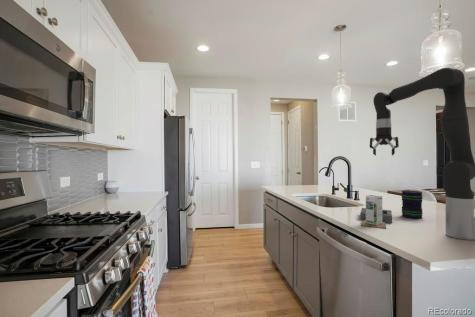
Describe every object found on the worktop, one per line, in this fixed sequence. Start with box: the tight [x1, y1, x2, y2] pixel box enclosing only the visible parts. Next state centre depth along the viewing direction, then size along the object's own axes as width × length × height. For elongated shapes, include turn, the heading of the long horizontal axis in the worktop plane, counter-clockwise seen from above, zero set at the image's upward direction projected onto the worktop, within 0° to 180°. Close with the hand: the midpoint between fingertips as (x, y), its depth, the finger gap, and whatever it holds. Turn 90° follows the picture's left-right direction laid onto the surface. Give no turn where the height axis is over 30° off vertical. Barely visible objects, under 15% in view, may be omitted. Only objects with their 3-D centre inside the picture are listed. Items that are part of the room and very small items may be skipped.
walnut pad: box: [360, 220, 387, 230], centre depth 125 cm, size 11×11×1 cm
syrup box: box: [365, 194, 383, 225], centre depth 125 cm, size 6×6×14 cm
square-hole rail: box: [359, 207, 393, 224], centre depth 137 cm, size 15×15×4 cm
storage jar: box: [401, 189, 423, 220], centre depth 140 cm, size 10×10×15 cm
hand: (383, 155), depth 139 cm, fingers open, 8 cm apart
